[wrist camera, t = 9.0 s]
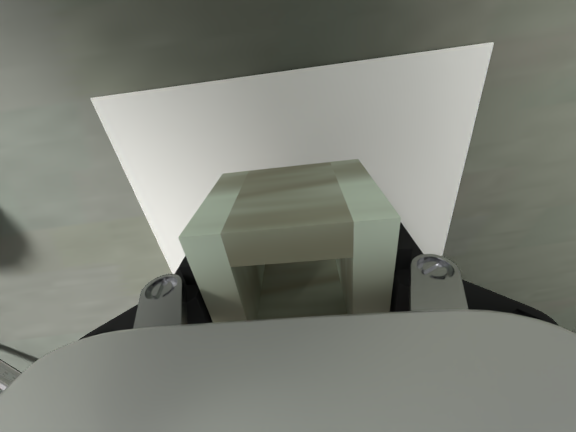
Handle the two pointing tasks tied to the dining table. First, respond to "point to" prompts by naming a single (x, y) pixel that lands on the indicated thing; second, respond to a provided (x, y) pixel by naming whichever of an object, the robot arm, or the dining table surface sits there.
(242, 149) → the pin board
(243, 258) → the pale green open box
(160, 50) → the dining table surface
